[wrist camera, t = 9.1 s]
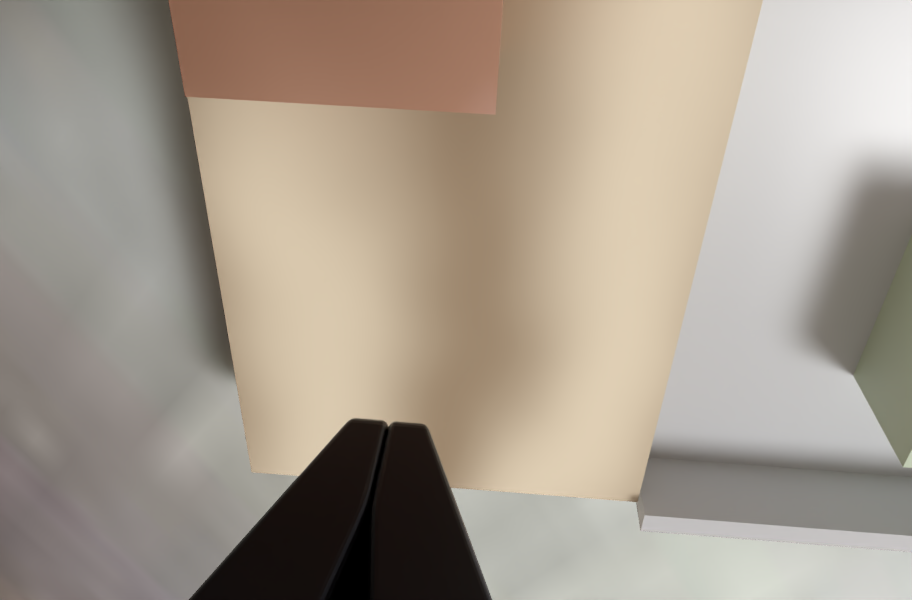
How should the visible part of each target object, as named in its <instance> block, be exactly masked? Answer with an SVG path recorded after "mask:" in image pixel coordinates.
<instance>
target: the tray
mask: <svg viewBox="0 0 912 600" xmlns="http://www.w3.org/2000/svg"><path fill="white" fill-rule="evenodd" d="M911 235H912V0H763V2H762V6H761V10H760V14H759V18H758V22H757V26H756V30H755V34H754V38H753V42H752V46H751V50H750V54H749V58H748V62H747V66H746V70H745V74H744V78H743V82H742V86H741V90H740V94H739V98H738V102H737V106H736V110H735V114H734V118H733V122H732V126H731V130H730V134H729V138H728V142H727V146H726V150H725V154H724V158H723V162H722V166H721V170H720V174H719V178H718V182H717V186H716V190H715V194H714V198H713V202H712V206H711V210H710V214H709V218H708V222H707V226H706V230H705V234H704V238H703V242H702V246H701V250H700V254H699V258H698V262H697V266H696V270H695V274H694V278H693V282H692V286H691V290H690V294H689V298H688V302H687V306H686V310H685V314H684V318H683V322H682V326H681V330H680V334H679V338H678V342H677V346H676V350H675V354H674V358H673V362H672V366H671V370H670V374H669V378H668V382H667V386H666V390H665V394H664V398H663V402H662V406H661V410H660V414H659V418H658V422H657V426H656V430H655V434H654V438H653V442H652V446H651V450H650V454H649V458H648V462H647V466H646V470H645V474H644V478H643V482H642V486H641V490H640V494H639V498H638V502H636V504H637V511H638V517H639V524H640V530H641V531H649V532H661V533H674V534H687V535H700V536H712V537H725V538H738V539H751V540H763V541H776V542H789V543H801V544H814V545H827V546H840V547H852V548H865V549H878V550H891V551H903V552H912V468H906V467H902V465H901V463H900V461H899V459H898V457H897V456H896V454H895V452H894V450H893V448H892V446H891V444H890V443H889V441H888V439H887V437H886V435H885V433H884V432H883V430H882V428H881V426H880V424H879V422H878V420H877V419H876V417H875V415H874V413H873V411H872V409H871V408H870V406H869V404H868V402H867V400H866V398H865V397H864V395H863V393H862V391H861V389H860V387H859V385H858V384H857V382H856V380H855V378H854V376H853V374H854V372H855V370H856V367H857V365H858V362H859V360H860V358H861V355H862V353H863V350H864V348H865V346H866V343H867V341H868V338H869V336H870V334H871V331H872V329H873V326H874V324H875V322H876V319H877V317H878V314H879V312H880V310H881V307H882V305H883V302H884V300H885V298H886V295H887V293H888V290H889V288H890V286H891V283H892V281H893V278H894V276H895V274H896V271H897V269H898V266H899V264H900V262H901V259H902V257H903V254H904V252H905V250H906V247H907V245H908V242H909V240H910V238H911Z"/></svg>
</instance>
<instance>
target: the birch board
mask: <svg viewBox="0 0 912 600" xmlns="http://www.w3.org/2000/svg"><path fill="white" fill-rule="evenodd" d="M762 2H763V0H504V5H503V20H502V35H501V51H500V64H499V77H498V90H497V103H496V115H491V114H474V113H457V112H439V111H422V110H405V109H388V108H370V107H353V106H336V105H319V104H301V103H284V102H267V101H250V100H233V99H215V98H198V97H187V98H188V103H189V109H190V115H191V121H192V127H193V133H194V138H195V144H196V150H197V156H198V162H199V168H200V173H201V179H202V185H203V191H204V197H205V203H206V208H207V214H208V220H209V226H210V232H211V238H212V243H213V249H214V255H215V261H216V267H217V273H218V278H219V284H220V290H221V296H222V302H223V308H224V313H225V319H226V325H227V331H228V337H229V343H230V349H231V354H232V360H233V366H234V372H235V378H236V384H237V389H238V395H239V401H240V407H241V413H242V419H243V424H244V430H245V436H246V442H247V448H248V454H249V459H250V465H251V471H252V472H256V473H268V474H281V475H294V476H299V475H300V474H301V473H302V472H303V471H304V470H305V469H306V467H307V466H308V465H309V464H310V463H311V462H312V461H313V460H314V458H315V457H316V456H317V455H318V454H319V453H320V452H321V451H322V449H323V448H324V447H325V446H326V445H327V444H328V443H329V442H330V440H331V439H332V438H333V437H334V436H335V435H336V434H337V433H338V431H339V430H340V429H341V428H342V427H343V426H344V425H345V424H346V423H347V422H348V421H349V420H350V419H353V418H363V419H374V420H383V421H385V422H386V423H387V424H388V427H389V425H390V424H391V423H392V422H395V421H398V422H409V423H421V424H425V425H426V426H427V427H428V429H429V430H430V433H431V436H432V438H433V441H434V444H435V446H436V449H437V452H438V455H439V457H440V460H441V463H442V465H443V468H444V471H445V474H446V476H447V479H448V482H449V484H450V487H451V488H463V489H476V490H489V491H502V492H515V493H528V494H541V495H554V496H567V497H580V498H593V499H606V500H619V501H632V502H638V498H639V494H640V490H641V486H642V482H643V478H644V474H645V470H646V466H647V462H648V458H649V454H650V450H651V446H652V442H653V438H654V434H655V430H656V426H657V422H658V418H659V414H660V410H661V406H662V402H663V398H664V394H665V390H666V386H667V382H668V378H669V374H670V370H671V366H672V362H673V358H674V354H675V350H676V346H677V342H678V338H679V334H680V330H681V326H682V322H683V318H684V314H685V310H686V306H687V302H688V298H689V294H690V290H691V286H692V282H693V278H694V274H695V270H696V266H697V262H698V258H699V254H700V250H701V246H702V242H703V238H704V234H705V230H706V226H707V222H708V218H709V214H710V210H711V206H712V202H713V198H714V194H715V190H716V186H717V182H718V178H719V174H720V170H721V166H722V162H723V158H724V154H725V150H726V146H727V142H728V138H729V134H730V130H731V126H732V122H733V118H734V114H735V110H736V106H737V102H738V98H739V94H740V90H741V86H742V82H743V78H744V74H745V70H746V66H747V62H748V58H749V54H750V50H751V46H752V42H753V38H754V34H755V30H756V26H757V22H758V18H759V14H760V10H761V6H762Z"/></svg>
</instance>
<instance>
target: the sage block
mask: <svg viewBox="0 0 912 600" xmlns="http://www.w3.org/2000/svg"><path fill="white" fill-rule="evenodd" d="M853 376H854V378H855V380H856V382H857V384H858V385H859V387H860V389H861V391H862V393H863V395H864V397H865V398H866V400H867V402H868V404H869V406H870V408H871V409H872V411H873V413H874V415H875V417H876V419H877V420H878V422H879V424H880V426H881V428H882V430H883V432H884V433H885V435H886V437H887V439H888V441H889V443H890V444H891V446H892V448H893V450H894V452H895V454H896V456H897V457H898V459H899V461H900V463H901V465H902V467H906V468H912V235H911V238H910V240H909V242H908V245H907V247H906V250H905V252H904V254H903V257H902V259H901V262H900V264H899V266H898V269H897V271H896V274H895V276H894V278H893V281H892V283H891V286H890V288H889V290H888V293H887V295H886V298H885V300H884V302H883V305H882V307H881V310H880V312H879V314H878V317H877V319H876V322H875V324H874V326H873V329H872V331H871V334H870V336H869V338H868V341H867V343H866V346H865V348H864V350H863V353H862V355H861V358H860V360H859V362H858V365H857V367H856V370H855V372H854V374H853Z"/></svg>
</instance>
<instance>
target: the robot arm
mask: <svg viewBox="0 0 912 600" xmlns="http://www.w3.org/2000/svg"><path fill="white" fill-rule="evenodd" d="M189 600H492V598H491V596H490V593H489V590H488V588H487V585H486V582H485V579H484V577H483V574H482V571H481V569H480V566H479V563H478V560H477V558H476V555H475V552H474V550H473V547H472V544H471V541H470V539H469V536H468V533H467V531H466V528H465V525H464V522H463V520H462V517H461V514H460V512H459V509H458V506H457V503H456V501H455V498H454V495H453V493H452V490H451V487H450V484H449V482H448V479H447V476H446V474H445V471H444V468H443V465H442V463H441V460H440V457H439V455H438V452H437V449H436V446H435V444H434V441H433V438H432V436H431V433H430V430H429V429H428V427H427V426H426V425H425V424H421V423H409V422H398V421H395V422H392V423H391V424H390V425H389V427H388V424H387V423H386V422H385V421H383V420H374V419H363V418H353V419H350V420H349V421H348V422H347V423H346V424H345V425H344V426H343V427H342V428H341V429H340V430H339V431H338V433H337V434H336V435H335V436H334V437H333V438H332V439H331V440H330V442H329V443H328V444H327V445H326V446H325V447H324V448H323V449H322V451H321V452H320V453H319V454H318V455H317V456H316V457H315V458H314V460H313V461H312V462H311V463H310V464H309V465H308V466H307V467H306V469H305V470H304V471H303V472H302V473H301V474H300V475H299V476H298V478H297V479H296V480H295V481H294V482H293V483H292V484H291V485H290V487H289V488H288V489H287V490H286V491H285V492H284V493H283V494H282V496H281V497H280V498H279V499H278V500H277V501H276V502H275V503H274V505H273V506H272V507H271V508H270V509H269V510H268V511H267V512H266V514H265V515H264V516H263V517H262V518H261V519H260V520H259V521H258V523H257V524H256V525H255V526H254V527H253V528H252V529H251V530H250V531H249V533H248V534H247V535H246V536H245V537H244V538H243V539H242V540H241V542H240V543H239V544H238V545H237V546H236V547H235V548H234V549H233V551H232V552H231V553H230V554H229V555H228V556H227V557H226V558H225V560H224V561H223V562H222V563H221V564H220V565H219V566H218V567H217V569H216V570H215V571H214V572H213V573H212V574H211V575H210V576H209V578H208V579H207V580H206V581H205V582H204V583H203V584H202V585H201V587H200V588H199V589H198V590H197V591H196V592H195V593H194V594H193V596H192V597H191V598H190V599H189Z"/></svg>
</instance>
